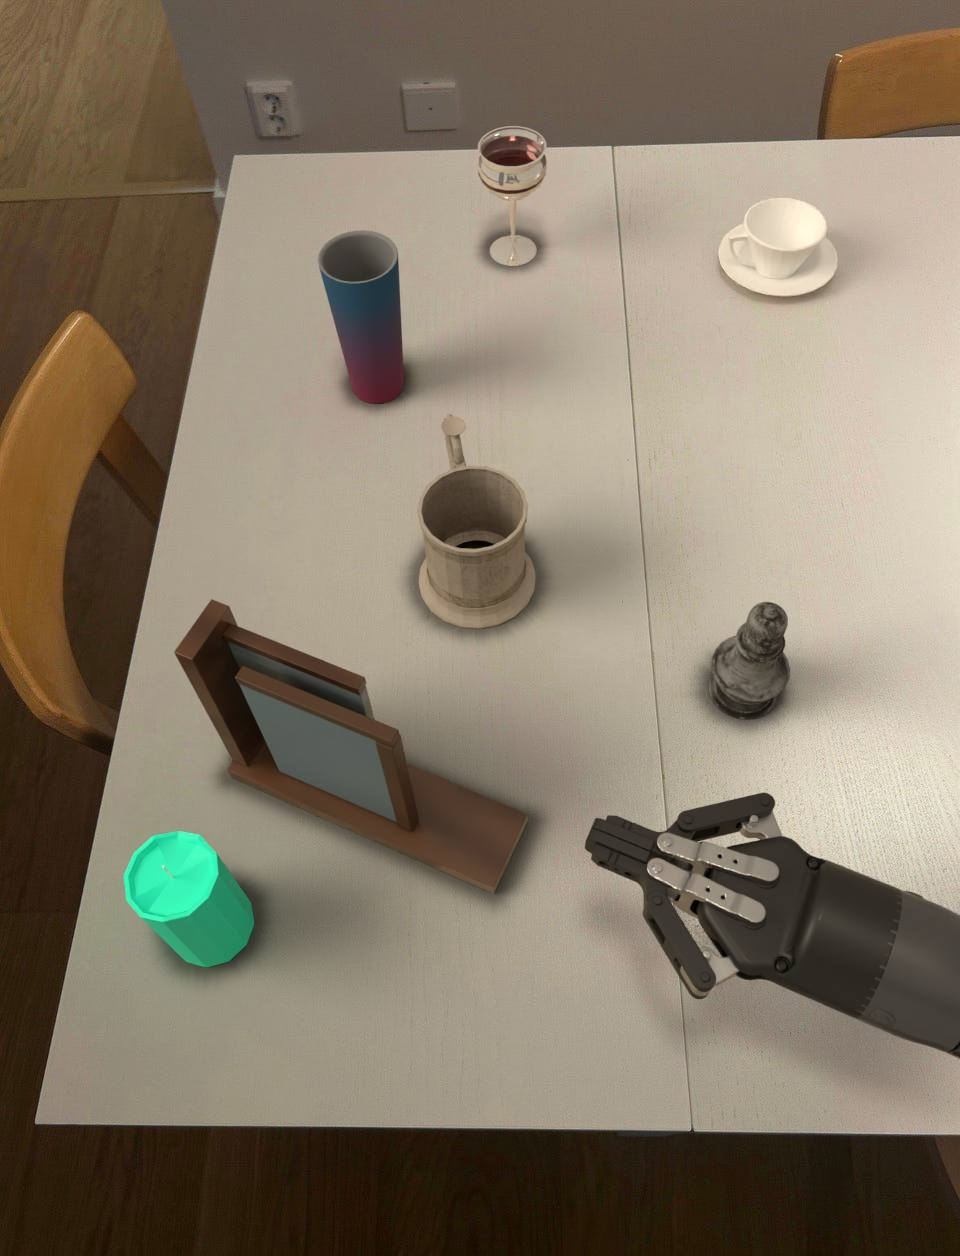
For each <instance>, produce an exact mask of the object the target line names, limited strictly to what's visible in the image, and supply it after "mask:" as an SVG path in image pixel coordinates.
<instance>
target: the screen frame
mask: <svg viewBox="0 0 960 1256" xmlns="http://www.w3.org/2000/svg"><path fill="white" fill-rule="evenodd" d="M173 654H174V655H175V657H176V660H178V663H179V665H180V666H181V668H182V670H183V672H184V674H185V676H186V677H187V679H188V681H189V683H190V684H191V687H192V689H193V690H194V692H195V694H196V696H197V698H198V699H199V702H200V703H201V705H202V706H203V708H204V710H205V712H206V714H207V716H208V717H209V718H208V719H210V721H211V723H212V725H213V727H214V728H215V731H216V732H217V734H218V736H219V738H220V740H221V741H222V743H223V745H224V748H225V749H226V751H227V753H228V755H229V757H230V758H231V760H232V761H231V763H230V764H229V766H228V767H227V769H226V771H227V772H228V774H229V775H230V777H231V779H233V780H236V781H238V782H240V783H243V784H245V785H247V786H249V787H251V788H254V789H256V790H258V791H261V792H263V793H265V794H267V795H269V796H271V797H274V798H276V799H278V800H281V801H283V802H285V803H287V804H289V805H292V806H295V807H296V808H299V809H301V810H303V811H305V812H307V813H310V814H312V815H315V816H316V817H319V818H321V819H324V820H325V821H328V822H330V823H332V824H335V825H337V826H339V827H342V828H344V829H346V830H348V831H351V832H352V833H355V834H357V835H359V836H362V837H364V838H366V839H368V840H371V841H373V842H375V843H377V844H379V845H382V846H384V847H386V848H388V849H391V850H394V851H396V852H398V853H400V854H403V855H404V856H407V857H409V858H411V859H414V860H416V861H418V862H421V863H422V864H425V865H427V866H429V867H431V868H433V869H436V870H439V871H440V872H443V873H445V874H448V875H450V876H451V877H454V878H455V879H456V878H457V879H458V880H461V881H463V882H465V883H467V884H470V885H473V886H474V887H477V888H479V889H481V890H484V891H486V892H487V893H490V894H493V895H494V894H495V893H496V890H497V888H498V886H499V884H500V882H501V880H502V878H503V876H504V873H505V871H506V869H507V867H508V865H509V862H510V860H511V859H512V856H513V854H514V852H515V850H516V848H517V845H518V843H519V841H520V839H521V837H522V834H523V833H524V831H525V828H526V826H527V824H528V813H526V812H524V811H521V810H519V809H517V808H514V807H512V806H510V805H507V804H505V803H502V802H500V801H497V800H495V799H493V798H490V797H488V796H485V795H483V794H481V793H479V792H476V791H473V790H471V789H470V788H466V787H465V786H463V785H459V784H457V783H454V782H452V781H449V780H448V779H445V778H443V777H441V776H438V775H436V774H433V773H431V772H428V771H427V770H423V769H421V768H419V767H416V766H414V765H412V764H410V763H407V766H408V771H409V776H410V780H411V785H412V789H413V794H414V798H415V803H416V808H417V812H418V817H419V819H418V821H417V822H416V824H415V826H414V828H413V830H412V831H409V830H407V829H404V828H402V827H400V826H398V825H397V822H395V821H392V820H390V819H388V818H386V817H383V816H381V815H379V814H376V813H374V812H372V811H370V810H367V809H365V808H363V807H360V806H358V805H356V804H354V803H351V802H349V801H347V800H344V799H342V798H340V797H337V796H335V795H333V794H331V793H328V792H326V791H324V790H321V789H319V788H317V787H315V786H312V785H310V784H308V783H305V782H303V781H301V780H299V779H296V778H294V777H292V776H289V775H287V774H285V773H282V772H280V771H279V769H278V767H277V765H276V762H275V760H274V758H273V756H272V754H271V752H270V750H269V747H268V745H267V743H266V741H265V739H264V737H263V734H262V732H261V730H260V728H259V726H258V724H257V722H256V719H255V717H254V715H253V713H252V711H251V709H250V707H249V704H248V702H247V700H246V698H245V696H244V694H243V691H242V689H241V687H240V685H239V684H238V683H237V681H236V679H235V676H236V675H237V673H238V672H239V670H240V669H241V667H242V666H245V667H247V668H250V669H252V670H255V671H257V672H259V673H262V674H264V675H267V676H269V677H272V678H274V679H276V680H279V681H281V682H284V683H286V684H289V685H291V686H293V687H296V688H298V689H301V690H303V691H306V692H308V693H310V694H313V695H315V696H318V697H320V698H323V699H325V700H327V701H330V702H332V703H335V704H337V705H340V706H342V707H344V708H347V709H349V710H352V711H354V712H357V713H359V714H361V715H364V716H366V717H369V718H371V719H374V720H376V719H375V716H374V711H373V707H372V704H371V701H370V696H369V692H368V689H367V680H366V676H364V675H362V674H361V675H360V674H359V673H356V672H353V671H351V670H348V669H345V668H344V667H341V666H338V665H336V664H333V663H331V662H328V661H325V660H323V659H321V658H319V657H316V656H313V655H311V654H308V653H306V652H303V651H301V650H298V649H296V648H293V647H291V646H288V645H286V644H283V643H281V642H279V641H276V640H274V639H271V638H269V637H266V636H265V635H261V634H258V633H256V632H254V631H251V630H248V629H246V628H243V627H241V626H238V623H237V621H236V619H235V616H234V614H233V611H232V609H231V607H230V605H228V604H225V603H222V602H220V601H218V600H215V599H213V598H211V599H210V600H209V602H208V603H207V605H206V606H205V607H204V609H203V610H202V612H201V613H200V614H199V616H198V618H197V619H196V620H195V622H194V623H193V624H192V626H191V627H190V629H189V630H188V631H187V633H186V634H185V636H184V637H183V639H182V640H181V642H179V644H178V646H177V647H176V648H175V650H174V651H173Z"/></svg>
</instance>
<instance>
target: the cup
mask: <svg viewBox="0 0 960 1256" xmlns="http://www.w3.org/2000/svg"><path fill="white" fill-rule="evenodd" d="M317 264H318V269H319V271H320V275H321V279H322V283H323V287H324V290H325V295H326V298H327V301H328V304H329V308H330V313H331V315H332V316H331V317H332V319H333V324H334V326H335V330H336V335H337V337H338V338H337V339H338V341H339V345H340V348H341V352H342V356H343V360H344V364H345V368H346V371H347V375H348V377H349V381H350V386H351V389H352V392H353V394H354V395H355V396H356V398H358V399H359V400H360V401H362V402H364V403H368V404H375V405H376V404H385V403H387V402H391V401H393V400H394V399H396V398H397V397H398V396H399V395H400V394H401V393H402V392H403V390H404V387H405V373H404V370H405V369H404V352H403V351H404V349H403V332H402V331H403V329H402V307H401V305H402V304H401V285H400V283H401V282H400V265H399V251H398V247H397V246H396V244H395V243H394V241H393V240H392V239H391V238H389V237H388V236H387V235H384V234H382V233H381V232H377V231H372V230H365V229H361V230H360V229H359V230H351V231H346V232H343V233H340V234H338V235H336V236H334V237H332V238H331V239H329V240H327V242H325V244H323V246H322V247H321V249H320V250H319V253H318V255H317Z"/></svg>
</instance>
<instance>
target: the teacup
mask: <svg viewBox="0 0 960 1256" xmlns="http://www.w3.org/2000/svg"><path fill="white" fill-rule="evenodd" d="M828 226H829V225H828V221H827V218H826V217H825V215H824V214H823V212H822V211H820V209H818V208H817V207H815V206H814V205H812V204H810V203H808V202H806V201H804V200H801V199H799V198H791V197H772V198H766V199H764V200H761V201H758V202H757V203H755V204H753V205H752V206H751V207H750V208H749V209H748V210H747V211H746V213H745V215H744V217H743V222H742V223H740V224H739V225H737V226H735V227H733V228H732V229H731V230H729V231H728V232H727V233H726V234H725V235H724V236H723V238H722V239H721V242H719V245H718V252H717V253H718V254H717V257H718V260H719V263H720V266H721V268H722V269H723V271H724V272H725V273H726V275H727V276H728V277H729V278H730V279H732V280H733V281H734V282H735V283H736V284H738V285H739V286H741V287H744V288H746V289H748V290H750V291H751V292H755V293H758V294H762V295H766V296H774V297H782V298H783V297H795V296H796V297H797V296H801V295H806V294H809V293H813V292H814V291H817V290H818V289H820V288H823V287H824V286H826V284H827V283H828V282H829V281H830V280H831V279H833V278H834V276H835V273H836V271H837V269H838V263H839V260H838V259H839V256H838V253H837V251H836V248H835V246H834V244H833V243H832V242H831V241H830V239H829V238H828V237H827V233H828V229H829V227H828Z"/></svg>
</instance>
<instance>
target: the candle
mask: <svg viewBox="0 0 960 1256" xmlns="http://www.w3.org/2000/svg"><path fill="white" fill-rule="evenodd" d="M123 883H124V892H125V899H126V900H125V901H126V902H127V903H128V905H130V907H131V908H132V910H134V911H135V913H136V914H137V915H138V916H139V918H141V919H142V921H143V922H145V923H146V924H147V925H148V926H149V927H150V928H151V929H152V930H153V931H154V932H155V934H157V935H158V936H159V937H160V938H161V939H162V940H163V941H164V943H166V944H167V945H168V946H169V947H170V948H171V949H172V950H173V951H174V952H176V954H177V955H178V956H179V957H180V958H182V960H183V961H185V963H188V964H192V965H196V966H200V967H203V968H210V967H211V968H212V967H214V966H217V965H221V964H224V963H228V962H230V961H231V960H232V959H234V957H236V956H237V955H238V954H239V953H240V952H241V951H242V950H243V949H244V948H245V947H246V946H247V945H248V943H249V939H250V937H251V934H252V931H253V929H254V927H255V917H254V910H253V906H252V902H251V900H250V899H249V896H247V894H246V893H245V892H244V890H243V889H242V888H241V885H239V883H238V882H237V880H236V878H235V877H234V876H233V875H232V873H231V872H230V870H229V869H228V867H227V865H226V864H225V863H224V861H223V860H222V859H221V858H220V855H218V853H217V852H216V851H215V850H214V848H213V847H212V846H211V845H210V844H209V843H208V842H207V840H206V839H204V838H203V835H201V834H198V833H192V832H187V831H182V830H176V831H170V832H166V833H165V832H163V833H159V834H154V835H152V836H151V837H149V838H148V840H146V841H145V842H144V843H143V844H142V845H141V846H140V847H138V848H137V849H136V850H135V851H134V852H133V854H132V855H131V858H130V860H129V863H128V864H127V867H126V869H125V871H124V874H123Z"/></svg>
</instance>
